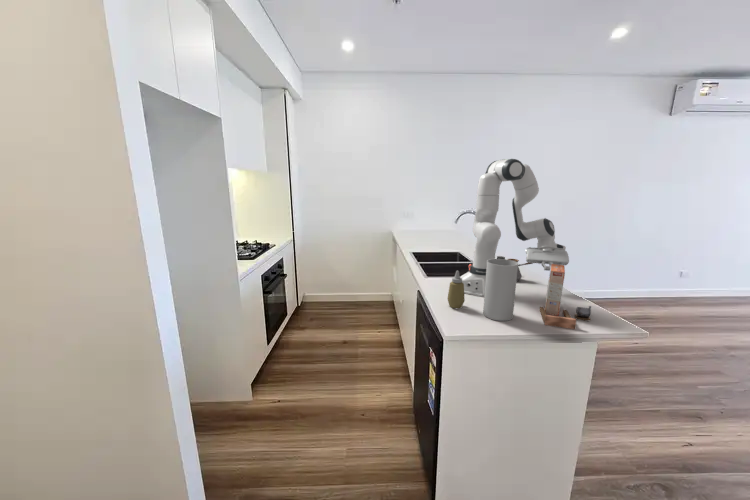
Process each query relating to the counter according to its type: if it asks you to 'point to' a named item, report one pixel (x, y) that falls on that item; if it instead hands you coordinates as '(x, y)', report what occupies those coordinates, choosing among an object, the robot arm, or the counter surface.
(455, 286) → the squeeze bottle
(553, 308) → the cracker box
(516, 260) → the coffee pot
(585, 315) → the winch drum
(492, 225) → the robot arm
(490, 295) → the cylinder vase
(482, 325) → the counter surface
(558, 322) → the bay
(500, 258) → the supplement bottle
